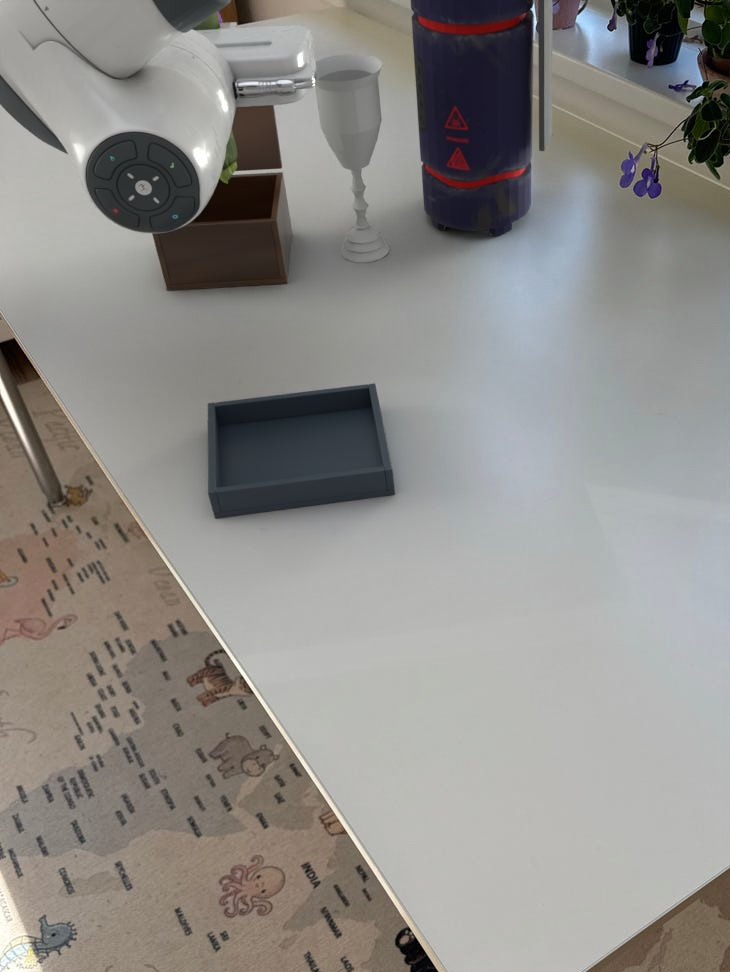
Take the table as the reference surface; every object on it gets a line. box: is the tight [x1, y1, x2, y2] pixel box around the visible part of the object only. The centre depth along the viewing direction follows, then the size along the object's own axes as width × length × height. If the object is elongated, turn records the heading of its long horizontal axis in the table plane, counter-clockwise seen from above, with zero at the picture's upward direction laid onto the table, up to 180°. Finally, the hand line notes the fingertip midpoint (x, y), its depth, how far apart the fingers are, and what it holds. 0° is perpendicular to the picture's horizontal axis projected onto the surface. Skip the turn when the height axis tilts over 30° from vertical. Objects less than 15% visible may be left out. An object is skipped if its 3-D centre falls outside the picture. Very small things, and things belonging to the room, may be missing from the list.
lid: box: [232, 105, 283, 172], centre depth 105 cm, size 12×12×1 cm
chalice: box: [314, 53, 390, 263], centre depth 104 cm, size 7×7×18 cm
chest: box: [151, 171, 293, 291], centre depth 107 cm, size 11×12×7 cm
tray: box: [207, 383, 396, 519], centre depth 85 cm, size 14×12×2 cm
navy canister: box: [410, 0, 554, 237], centre depth 104 cm, size 14×12×30 cm
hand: (195, 34), depth 86 cm, fingers closed on vegetable, 4 cm apart
